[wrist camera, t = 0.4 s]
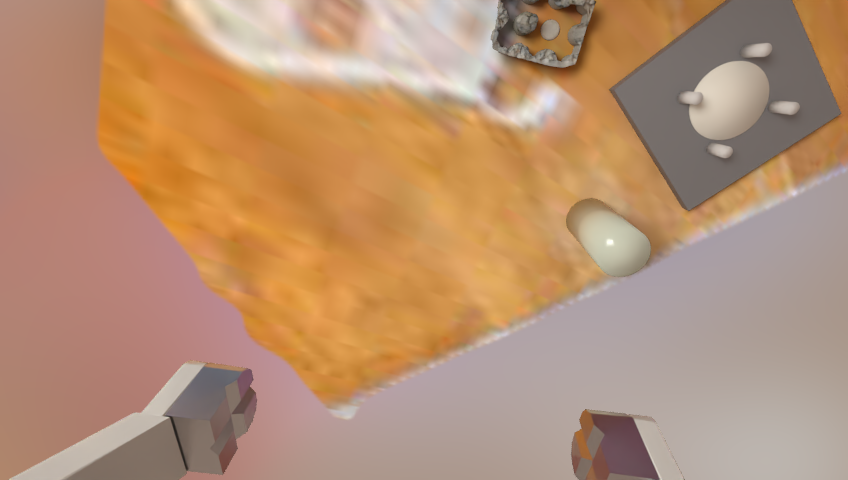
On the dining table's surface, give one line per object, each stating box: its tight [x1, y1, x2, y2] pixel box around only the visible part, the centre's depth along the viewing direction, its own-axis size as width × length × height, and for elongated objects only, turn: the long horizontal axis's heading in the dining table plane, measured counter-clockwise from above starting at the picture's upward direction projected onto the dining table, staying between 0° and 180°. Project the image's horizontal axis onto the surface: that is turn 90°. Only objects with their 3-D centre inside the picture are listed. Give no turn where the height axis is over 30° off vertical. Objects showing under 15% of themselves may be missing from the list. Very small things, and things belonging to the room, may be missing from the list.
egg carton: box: [491, 0, 596, 68], centre depth 47 cm, size 11×8×4 cm
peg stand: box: [609, 0, 841, 211], centre depth 50 cm, size 20×20×4 cm
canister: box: [566, 198, 651, 277], centre depth 52 cm, size 6×6×12 cm
